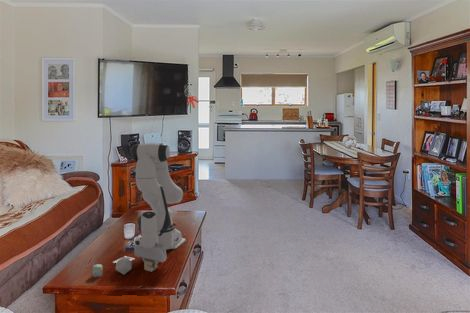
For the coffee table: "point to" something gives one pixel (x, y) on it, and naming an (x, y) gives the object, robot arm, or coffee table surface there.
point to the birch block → (149, 265)
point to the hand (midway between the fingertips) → (150, 266)
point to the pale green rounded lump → (97, 270)
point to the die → (123, 265)
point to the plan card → (125, 257)
